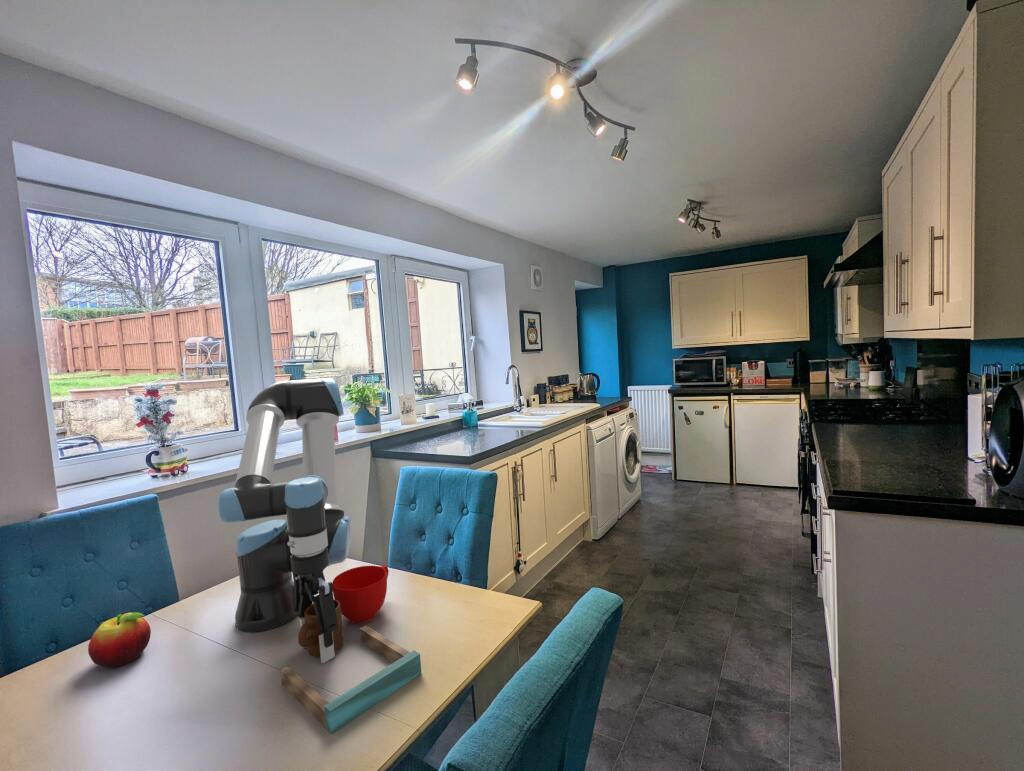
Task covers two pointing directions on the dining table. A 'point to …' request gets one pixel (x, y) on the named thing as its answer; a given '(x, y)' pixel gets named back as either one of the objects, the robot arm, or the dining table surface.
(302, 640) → the mug
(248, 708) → the dining table surface
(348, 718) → the u-shaped wooden frame
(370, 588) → the red bowl
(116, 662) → the fruit
